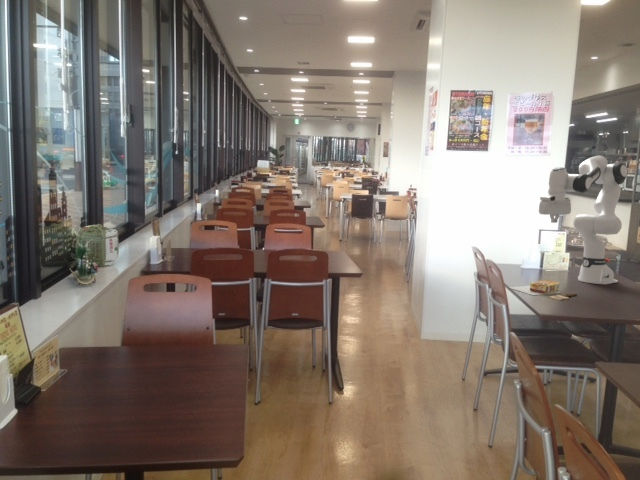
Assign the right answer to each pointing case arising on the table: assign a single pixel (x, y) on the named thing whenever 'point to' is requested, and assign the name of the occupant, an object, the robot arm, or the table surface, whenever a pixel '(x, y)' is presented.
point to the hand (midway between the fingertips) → (554, 222)
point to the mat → (527, 290)
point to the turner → (563, 296)
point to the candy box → (544, 286)
